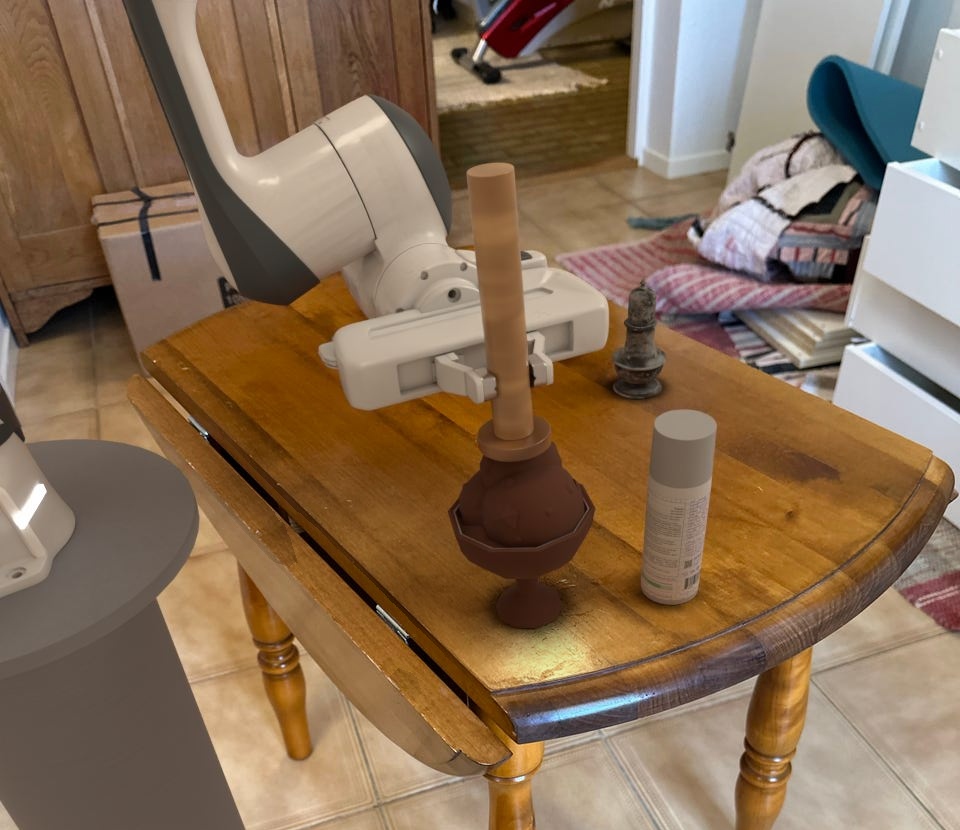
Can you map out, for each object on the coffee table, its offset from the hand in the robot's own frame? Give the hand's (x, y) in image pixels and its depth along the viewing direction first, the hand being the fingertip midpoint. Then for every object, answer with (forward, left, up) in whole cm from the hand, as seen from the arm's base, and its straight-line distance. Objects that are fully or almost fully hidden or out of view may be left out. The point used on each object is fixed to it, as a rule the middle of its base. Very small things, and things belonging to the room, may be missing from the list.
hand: (516, 383), depth 62 cm
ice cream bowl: (+1, 0, -20) cm, 20 cm away
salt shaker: (+36, +17, -20) cm, 44 cm away
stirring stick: (0, +1, -5) cm, 5 cm away
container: (+10, -7, -20) cm, 24 cm away
